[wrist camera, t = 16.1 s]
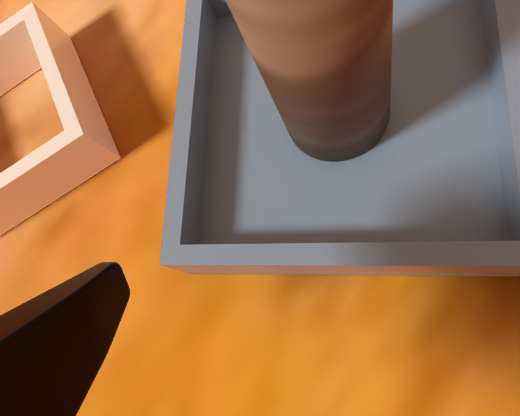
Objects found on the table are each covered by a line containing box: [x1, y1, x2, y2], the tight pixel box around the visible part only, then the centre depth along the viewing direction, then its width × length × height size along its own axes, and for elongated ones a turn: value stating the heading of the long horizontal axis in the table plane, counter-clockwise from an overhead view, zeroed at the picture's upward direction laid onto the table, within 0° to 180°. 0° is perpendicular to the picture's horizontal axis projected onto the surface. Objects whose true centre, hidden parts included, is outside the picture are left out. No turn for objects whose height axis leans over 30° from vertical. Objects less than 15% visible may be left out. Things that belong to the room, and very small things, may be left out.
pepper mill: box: [226, 0, 393, 162], centre depth 12 cm, size 4×4×12 cm
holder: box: [0, 2, 121, 236], centre depth 23 cm, size 10×10×3 cm
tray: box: [160, 0, 520, 277], centre depth 18 cm, size 14×14×3 cm
